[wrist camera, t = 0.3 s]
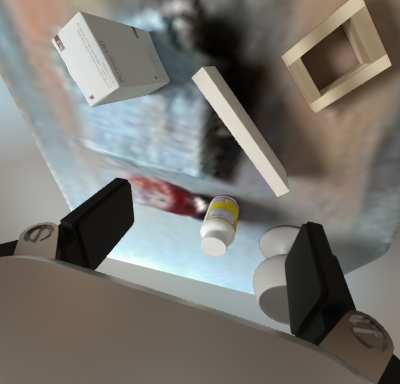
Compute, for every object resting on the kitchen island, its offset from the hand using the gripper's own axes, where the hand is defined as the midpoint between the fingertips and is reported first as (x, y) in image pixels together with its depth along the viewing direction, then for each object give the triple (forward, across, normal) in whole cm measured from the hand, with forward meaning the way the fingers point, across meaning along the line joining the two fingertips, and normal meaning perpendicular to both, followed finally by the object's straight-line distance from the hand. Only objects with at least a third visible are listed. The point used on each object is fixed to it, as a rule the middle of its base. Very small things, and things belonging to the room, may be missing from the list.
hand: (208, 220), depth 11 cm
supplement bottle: (+30, +1, +20) cm, 37 cm away
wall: (+30, 0, +2) cm, 30 cm away
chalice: (+30, -15, +27) cm, 43 cm away
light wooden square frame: (+30, -10, -9) cm, 33 cm away
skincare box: (+30, +19, -5) cm, 36 cm away
